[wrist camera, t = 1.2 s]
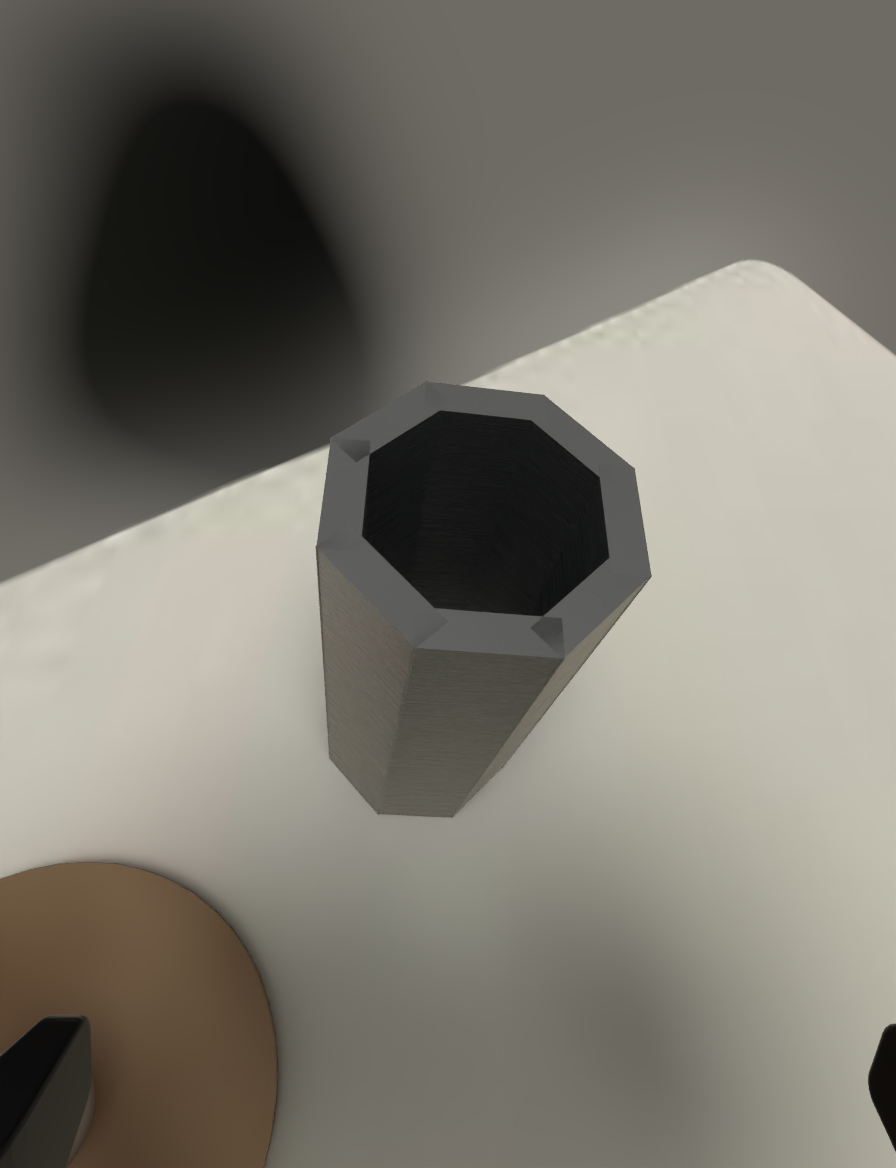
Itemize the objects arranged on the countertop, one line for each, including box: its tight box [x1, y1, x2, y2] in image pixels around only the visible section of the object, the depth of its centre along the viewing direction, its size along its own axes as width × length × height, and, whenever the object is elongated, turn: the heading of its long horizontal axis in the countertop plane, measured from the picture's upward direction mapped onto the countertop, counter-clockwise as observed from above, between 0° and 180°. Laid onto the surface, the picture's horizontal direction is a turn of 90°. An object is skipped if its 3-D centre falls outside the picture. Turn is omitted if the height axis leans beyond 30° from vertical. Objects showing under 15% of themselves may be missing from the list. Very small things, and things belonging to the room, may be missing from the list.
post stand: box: [0, 862, 278, 1168], centre depth 14 cm, size 11×11×5 cm
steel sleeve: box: [316, 381, 652, 818], centre depth 17 cm, size 6×6×12 cm
